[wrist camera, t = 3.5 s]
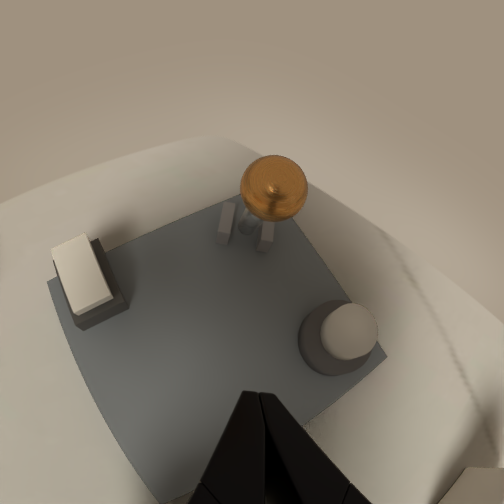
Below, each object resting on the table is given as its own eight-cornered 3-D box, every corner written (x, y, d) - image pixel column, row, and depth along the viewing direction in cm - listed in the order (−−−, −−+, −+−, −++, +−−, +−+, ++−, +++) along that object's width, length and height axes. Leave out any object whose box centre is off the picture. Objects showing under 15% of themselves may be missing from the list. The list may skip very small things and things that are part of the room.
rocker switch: (113, 298, 16) (110, 294, 16) (78, 315, 16) (73, 313, 15) (89, 238, 17) (85, 232, 16) (55, 254, 16) (50, 249, 15)
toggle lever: (261, 249, 21) (311, 222, 11) (223, 242, 21) (237, 206, 10) (267, 212, 22) (320, 154, 11) (230, 205, 21) (251, 137, 11)
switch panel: (376, 360, 21) (400, 352, 19) (162, 498, 14) (158, 513, 12) (260, 192, 26) (269, 168, 23) (53, 285, 19) (36, 268, 16)
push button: (374, 341, 18) (386, 336, 17) (339, 370, 17) (350, 367, 16) (347, 300, 19) (358, 293, 18) (310, 327, 18) (319, 321, 17)
